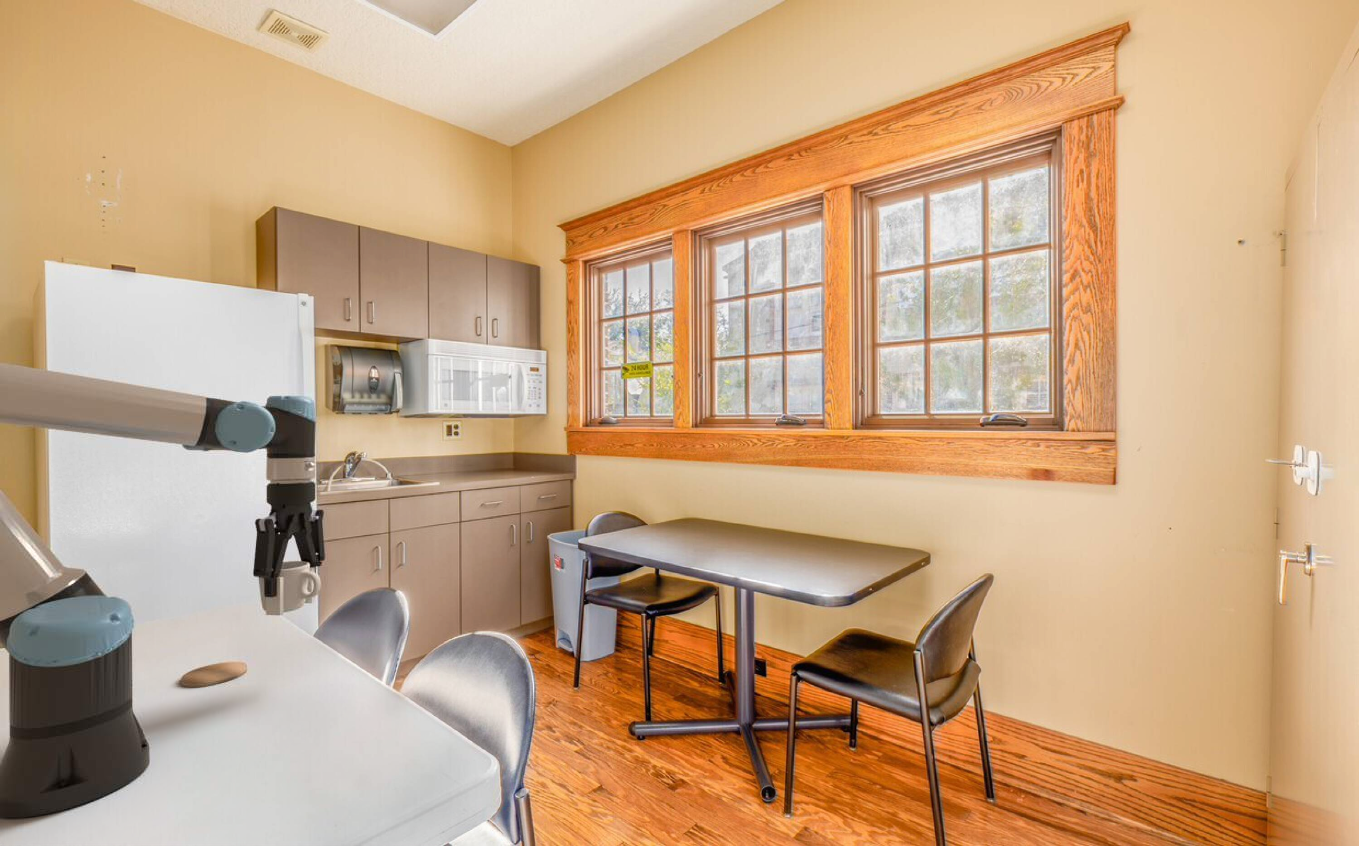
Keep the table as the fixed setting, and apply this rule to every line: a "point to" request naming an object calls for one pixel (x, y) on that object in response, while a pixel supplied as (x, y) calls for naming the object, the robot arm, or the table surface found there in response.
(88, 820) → the table surface
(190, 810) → the table surface
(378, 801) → the table surface
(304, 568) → the cup
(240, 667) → the coaster
